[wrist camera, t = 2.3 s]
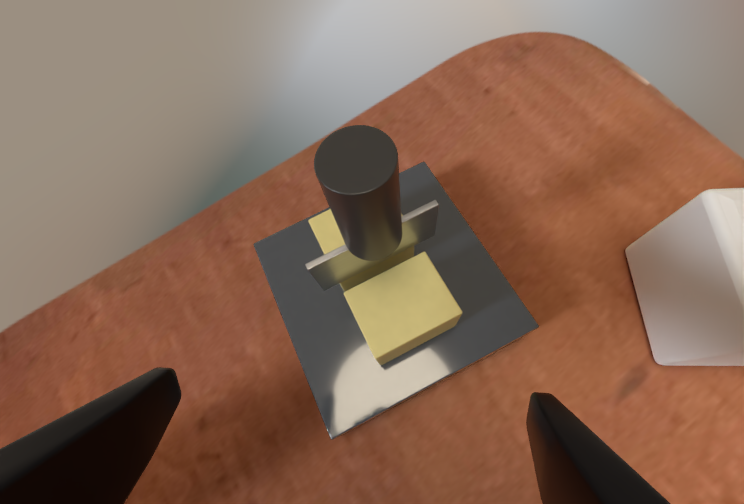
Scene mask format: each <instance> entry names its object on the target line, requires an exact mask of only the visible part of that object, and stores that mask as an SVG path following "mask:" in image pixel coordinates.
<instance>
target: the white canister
mask: <svg viewBox="0 0 744 504" xmlns="http://www.w3.org/2000/svg"><path fill="white" fill-rule="evenodd" d="M625 253H626V257H627V260H628V264H629V268H630V272H631V275H632V279H633V283H634V286H635V290H636V294H637V298H638V301H639V305H640V309H641V313H642V316H643V320H644V324H645V327H646V331H647V335H648V339H649V342H650V346H651V350H652V353H653V357H654V360H655V362H656V363H658V364H660V365H664V366H744V188H726V189H709V190H706V191H703V192H702V193H700V194H699V195H698V196H696V197H695V198H694V199H692V200H691V201H689V202H688V203H687V204H685V205H684V206H683V207H681V208H680V209H678V210H677V211H676V212H674V213H673V214H672V215H670V216H669V217H667V218H666V219H665V220H663V221H662V222H661V223H659V224H658V225H656V226H655V227H654V228H652V229H651V230H650V231H648V232H647V233H646V234H644V235H643V236H641V237H640V238H639V239H637V240H636V241H635V242H633V243H632V244H630V245H629V246H628V247H627V248H626V250H625Z"/></svg>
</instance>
